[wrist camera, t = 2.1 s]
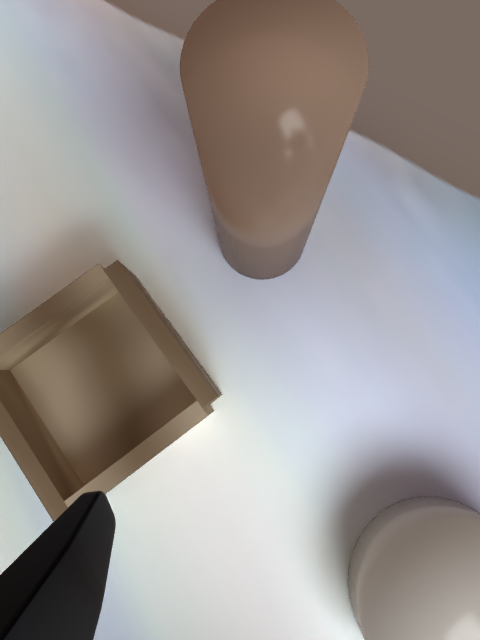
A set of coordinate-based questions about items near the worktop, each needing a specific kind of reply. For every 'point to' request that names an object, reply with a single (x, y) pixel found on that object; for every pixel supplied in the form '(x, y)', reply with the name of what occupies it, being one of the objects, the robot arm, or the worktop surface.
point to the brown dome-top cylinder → (270, 119)
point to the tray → (95, 387)
